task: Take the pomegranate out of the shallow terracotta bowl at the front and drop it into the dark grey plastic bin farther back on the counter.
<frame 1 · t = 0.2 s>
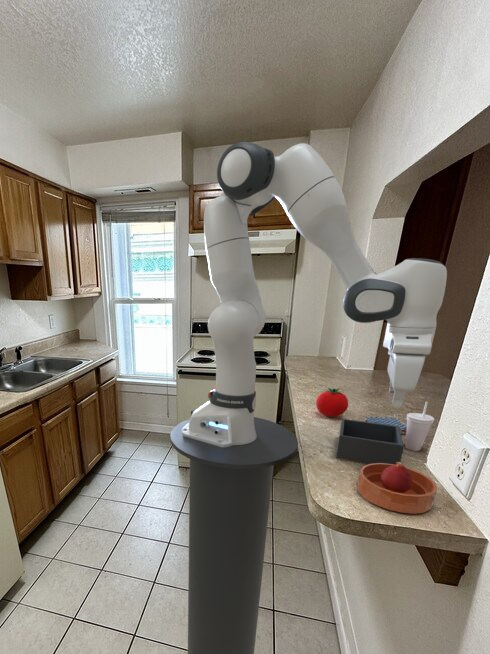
hand: (394, 400, 81), 19 cm above the worktop, tool pointing down, fingers open, 8 cm apart
bowl: (392, 495, 79), on the worktop
tomato: (329, 416, 127), on the worktop
bin: (365, 452, 99), on the worktop
woven mat: (385, 428, 116), on the worktop
smoothie: (412, 448, 101), on the worktop
pomegranate: (392, 495, 79), resting on bowl
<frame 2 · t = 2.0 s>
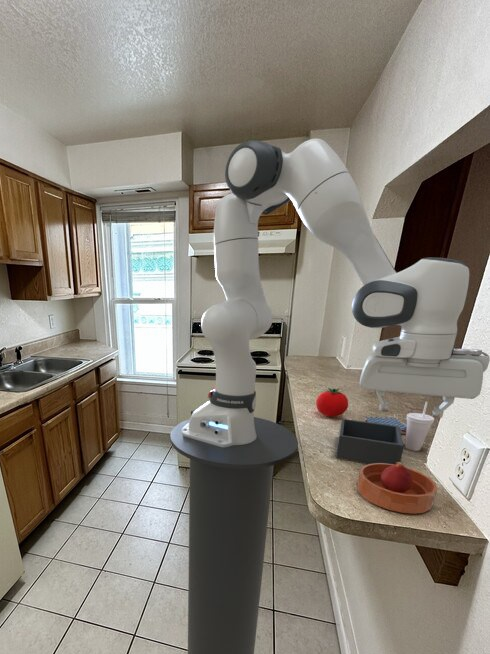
hand: (409, 413, 74), 19 cm above the worktop, tool pointing down, fingers open, 8 cm apart
nothing on the worktop moved.
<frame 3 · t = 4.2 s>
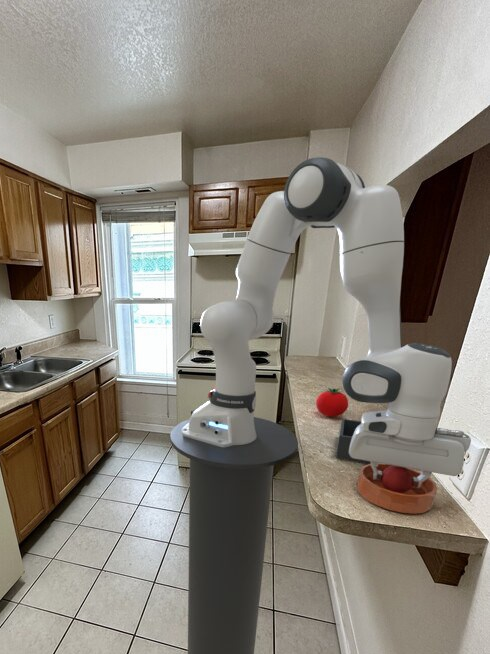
hand: (395, 482, 77), 3 cm above the worktop, tool pointing down, fingers closed on pomegranate, 6 cm apart
pomegranate: (392, 495, 79), resting on bowl, touching gripper
everything else where it was.
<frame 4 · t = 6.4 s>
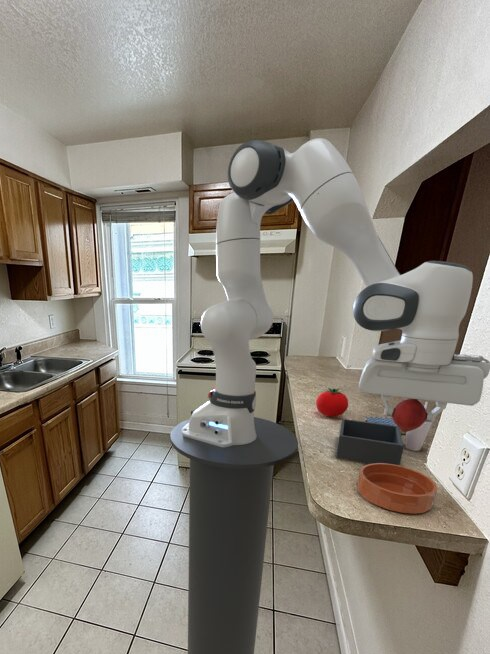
hand: (407, 418, 73), 18 cm above the worktop, tool pointing down, fingers closed on pomegranate, 6 cm apart
pomegranate: (404, 432, 74), point 15 cm above the worktop, touching gripper
everything else where it was.
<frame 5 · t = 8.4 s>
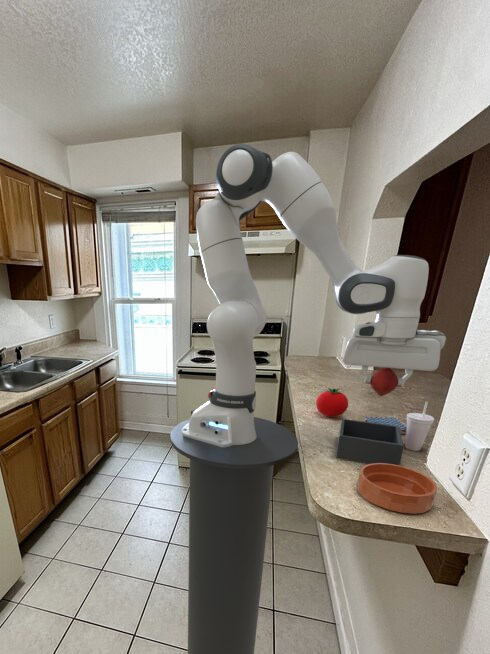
hand: (382, 384, 89), 20 cm above the worktop, tool pointing down, fingers closed on pomegranate, 6 cm apart
pomegranate: (380, 396, 90), point 17 cm above the worktop, touching gripper
everything else where it was.
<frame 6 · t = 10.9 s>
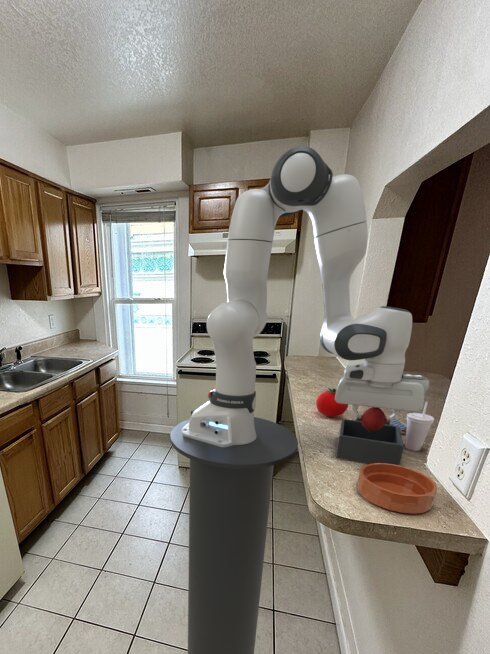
hand: (372, 422, 96), 9 cm above the worktop, tool pointing down, fingers closed on pomegranate, 6 cm apart
pomegranate: (370, 432, 97), point 6 cm above the worktop, touching gripper
everything else where it was.
when the fingers open (3 cm above the worktop, at t = 12.9 s): pomegranate stays where it is, resting on bin.
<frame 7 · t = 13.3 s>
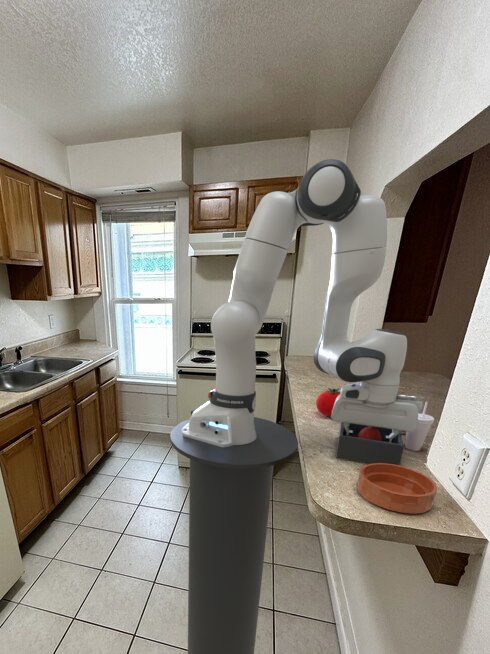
hand: (367, 439, 98), 4 cm above the worktop, tool pointing down, fingers open, 8 cm apart
pomegranate: (366, 451, 99), resting on bin
everything else where it was.
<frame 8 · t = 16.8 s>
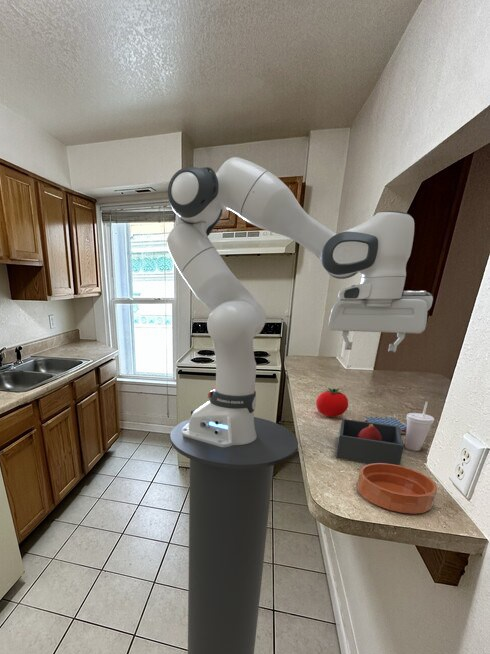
hand: (369, 350, 87), 29 cm above the worktop, tool pointing down, fingers open, 8 cm apart
nothing on the worktop moved.
at the end: pomegranate inside the target area in the bin (0.2 cm from its centre), point 0.4 cm above the bin's base; the gripper is holding nothing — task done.
